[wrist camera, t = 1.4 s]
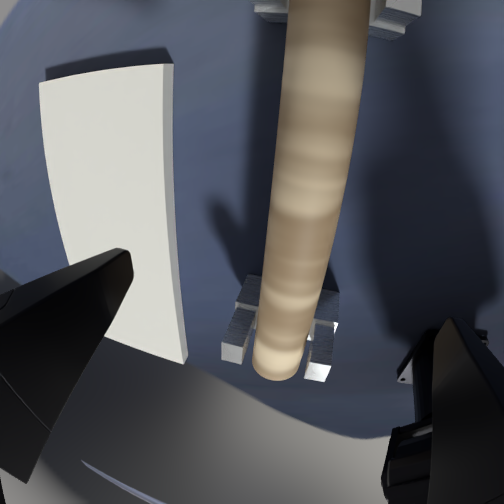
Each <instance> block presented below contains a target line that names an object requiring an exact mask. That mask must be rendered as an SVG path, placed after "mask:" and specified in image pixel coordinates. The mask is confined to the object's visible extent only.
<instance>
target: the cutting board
mask: <svg viewBox="0 0 504 504" xmlns="http://www.w3.org/2000/svg"><path fill="white" fill-rule="evenodd" d="M173 68H174V64H153V65H141V66H131V67H123V68H115V69H107V70H101V71H94V72H88V73H83V74H77V75H72V76H67V77H63V78H58V79H54V80H49V81H45V82H41V83H39V94H40V110H41V122H42V132H43V141H44V149H45V156H46V163H47V169H48V175H49V181H50V186H51V192H52V197H53V202H54V206H55V211H56V215H57V220H58V224H59V228H60V232H61V236H62V240H63V244H64V247H65V251H66V254H67V258H68V261H69V265H72V264H75V263H78V262H80V261H83V260H85V259H88V258H90V257H93V256H95V255H98V254H101V253H103V252H106V251H109V250H111V249H114V248H122V249H126V250H128V251H129V252H130V254H131V259H132V265H133V270H134V279H133V282H132V284H131V286H130V288H129V290H128V291H127V293H126V295H125V297H124V299H123V302H122V304H121V306H120V308H119V310H118V312H117V314H116V316H115V318H114V320H113V322H112V323H111V325H110V327H109V329H108V330H107V332H106V333H105V335H104V336H106V337H108V338H110V339H113V340H116V341H118V342H121V343H124V344H126V345H129V346H132V347H134V348H137V349H140V350H142V351H145V352H148V353H151V354H154V355H157V356H160V357H162V358H165V359H169V360H172V361H175V362H178V363H181V364H184V362H185V360H186V358H187V356H188V350H187V343H186V335H185V326H184V317H183V308H182V299H181V288H180V278H179V266H178V253H177V239H176V223H175V205H174V180H173Z"/></svg>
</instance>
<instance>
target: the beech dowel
mask: <svg viewBox="0 0 504 504" xmlns="http://www.w3.org/2000/svg"><path fill="white" fill-rule="evenodd" d="M370 6H371V0H289V10H288V21H287V33H286V45H285V56H284V67H283V78H282V89H281V99H280V110H279V120H278V130H277V140H276V150H275V160H274V170H273V180H272V189H271V199H270V208H269V218H268V227H267V236H266V246H265V255H264V264H263V272H262V281H261V290H260V299H259V308H258V316H257V325H256V333H255V341H254V350H253V358H252V363H253V367H254V369H255V370H256V371H257V373H258V374H260V375H261V376H262V377H264V378H266V379H269V380H275V381H280V380H285V379H288V378H290V377H292V376H293V375H294V374H295V373H296V372H297V370H298V367H299V364H300V361H301V358H302V355H303V351H304V348H305V345H306V342H307V338H308V335H309V331H310V328H311V325H312V321H313V318H314V314H315V310H316V307H317V303H318V300H319V296H320V292H321V288H322V285H323V281H324V277H325V273H326V269H327V265H328V261H329V257H330V253H331V249H332V245H333V241H334V236H335V232H336V228H337V223H338V219H339V214H340V210H341V205H342V200H343V195H344V191H345V186H346V181H347V176H348V170H349V165H350V160H351V154H352V149H353V143H354V137H355V131H356V125H357V119H358V112H359V106H360V99H361V92H362V84H363V77H364V68H365V60H366V51H367V41H368V31H369V19H370Z"/></svg>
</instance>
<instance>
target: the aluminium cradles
mask: <svg viewBox="0 0 504 504" xmlns="http://www.w3.org/2000/svg"><path fill="white" fill-rule="evenodd" d="M249 1H250V2H252V3H253V4H254V5H255V11H254V12H255V13H257V14H258V15H260V16H261V17H262V18H263V19H265V20H266V21H267V22H273V23H287V21H288V10H289V0H249ZM421 6H422V0H371V6H370V19H369V31H368V35H369V36H373V37H378V38H382V39H386V40H390V41H393V40H395V39H397V38H398V37H400V36H402V35H404V34H405V26H407V25H408V24H410V23H411V22H413V21H414V20H416V19H417V18H419V17H421ZM261 281H262V276H257V275H252V274H248V275H247V277H246V279H245V282H244V284H243V286H242V288H241V291H240V293H239V295H238V298H237V300H236V304H235V312H234V315H233V317H232V319H231V322H230V324H229V326H228V329H227V331H226V333H225V336H224V338H223V340H222V360H226V361H230V362H234V363H238V364H242V362H243V359H244V356H245V353H246V350H247V347H248V344H249V342H250V339H251V336H252V333H253V330H254V329H256V325H257V316H258V308H259V299H260V290H261ZM339 295H340V292H336V291H331V290H326V289H321V292H320V296H319V300H318V303H317V307H316V310H315V314H314V318H313V321H312V325H311V328H310V331H309V335H308V338H307V340H310V346H309V352H308V358H307V364H306V370H305V376H304V378H306V379H311V380H317V381H322V382H324V381H325V379H326V377H327V375H328V372H329V370H330V368H331V364H332V354H333V343H334V333H335V330H336V327H337V325H338V316H339Z"/></svg>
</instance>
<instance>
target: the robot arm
mask: <svg viewBox="0 0 504 504" xmlns="http://www.w3.org/2000/svg"><path fill="white" fill-rule="evenodd" d="M133 279H134V270H133V265H132V259H131V254H130V252H129V251H128V250H126V249H122V248H114V249H111V250H109V251H106V252H103V253H101V254H98V255H95V256H93V257H90V258H88V259H85V260H83V261H80V262H78V263H75V264H72V265H70V266H67V267H65V268H62V269H60V270H58V271H55V272H53V273H50V274H48V275H45V276H43V277H40V278H38V279H36V280H33V281H31V282H29V283H26V284H24V285H22V286H19V287H17V288H15V289H12V290H10V291H8V292H5V293H3V294H1V295H0V468H1V469H3V470H4V471H6V472H7V473H9V474H11V475H12V476H14V477H15V478H17V479H19V480H20V481H22V482H24V483H25V484H27V482H28V481H29V479H30V476H31V474H32V472H33V469H34V467H35V465H36V463H37V461H38V458H39V456H40V454H41V452H42V450H43V448H44V446H45V444H46V441H47V440H48V438H49V435H50V433H51V432H50V431H52V429H53V427H54V425H55V423H56V421H57V419H58V417H59V415H60V413H61V411H62V409H63V407H64V406H65V404H66V402H67V400H68V398H69V396H70V394H71V393H72V391H73V389H74V387H75V385H76V383H77V382H78V380H79V378H80V376H81V374H82V373H83V371H84V369H85V367H86V366H87V364H88V362H89V360H90V359H91V357H92V355H93V353H94V352H95V350H96V348H97V347H98V345H99V343H100V342H101V340H102V338H103V337H104V335H105V333H106V332H107V330H108V329H109V327H110V325H111V323H112V322H113V320H114V318H115V316H116V314H117V312H118V310H119V308H120V306H121V304H122V302H123V299H124V297H125V295H126V293H127V291H128V290H129V288H130V286H131V284H132V282H133ZM488 344H489V341H488V339H487V338H486V337H481V336H477V335H476V334H475V333H474V331H473V330H472V329H471V328H470V327H469V326H468V325H467V324H466V323H465V321H464V320H463V319H461V318H456V317H449V318H447V320H446V321H445V323H444V324H443V326H442V328H441V329H440V331H438V330H428V331H426V332H425V334H424V335H423V337H422V339H421V340H420V342H419V344H418V345H417V347H416V348H415V350H414V352H413V353H412V355H411V356H410V358H409V359H408V361H407V362H406V364H405V365H404V367H403V368H402V370H401V371H400V373H399V374H398V376H397V380H398V382H400V383H408V384H413V393H414V407H415V423H412V424H409V425H406V426H403V427H396V428H393V429H392V433H391V438H390V441H389V446H388V451H387V455H386V459H385V464H384V467H383V471H382V475H381V485H382V487H383V492H384V496H385V498H386V500H387V502H388V504H504V367H503V366H502V364H501V363H500V362H499V361H498V360H497V358H496V357H495V356H494V355H493V354H492V352H491V351H490V350H489V349H488V348H487V346H488ZM0 504H6V503H5V499H4V494H3V489H2V485H1V479H0Z"/></svg>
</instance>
